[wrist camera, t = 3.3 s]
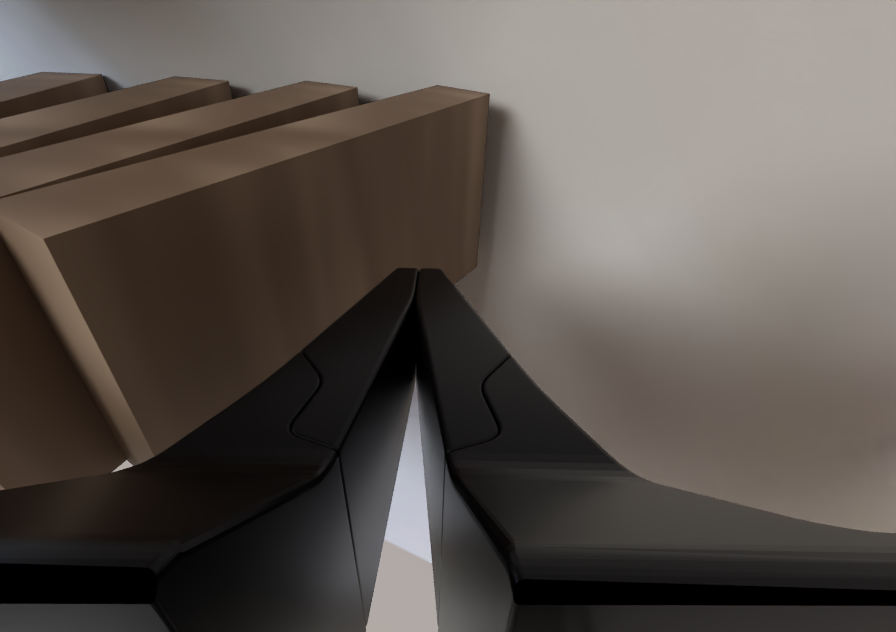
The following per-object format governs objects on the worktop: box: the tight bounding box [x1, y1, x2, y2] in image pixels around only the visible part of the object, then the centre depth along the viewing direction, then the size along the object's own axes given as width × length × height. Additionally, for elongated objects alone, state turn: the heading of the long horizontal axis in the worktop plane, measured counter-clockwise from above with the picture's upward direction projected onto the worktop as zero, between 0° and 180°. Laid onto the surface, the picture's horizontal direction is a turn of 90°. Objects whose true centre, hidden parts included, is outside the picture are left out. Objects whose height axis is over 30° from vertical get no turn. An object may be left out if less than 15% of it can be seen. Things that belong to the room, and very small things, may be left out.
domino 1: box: [0, 76, 232, 158], centre depth 10 cm, size 2×5×10 cm, turn 178°
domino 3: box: [0, 85, 490, 466], centre depth 11 cm, size 2×5×10 cm
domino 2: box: [0, 81, 359, 490], centre depth 10 cm, size 2×5×10 cm, turn 178°
